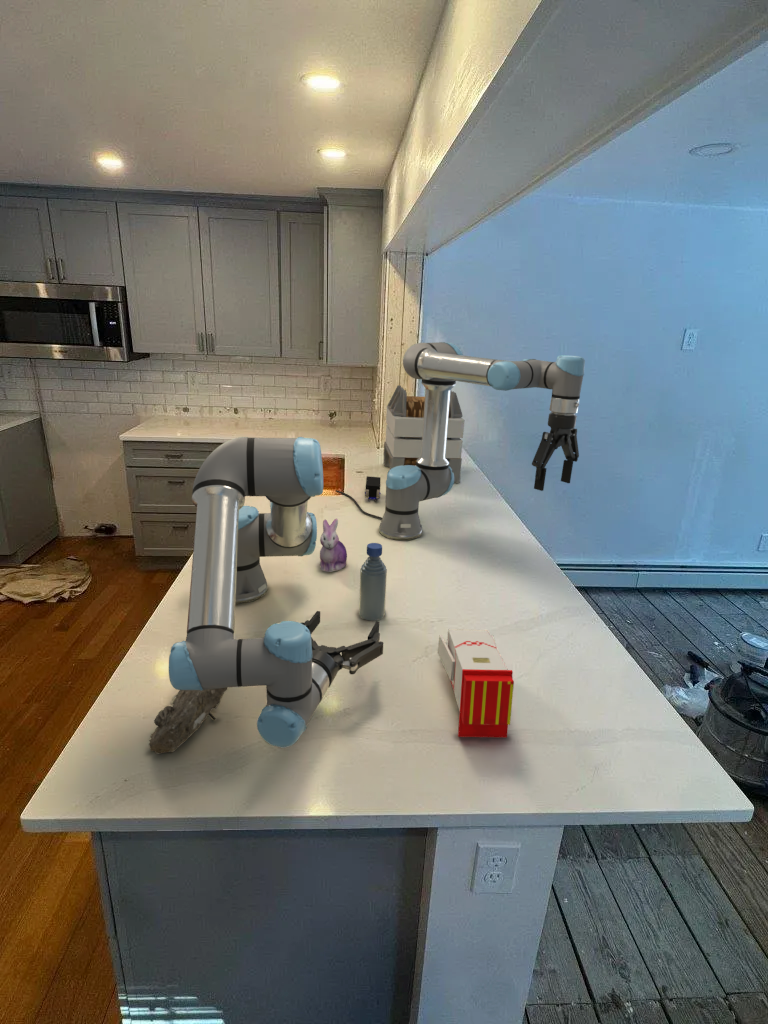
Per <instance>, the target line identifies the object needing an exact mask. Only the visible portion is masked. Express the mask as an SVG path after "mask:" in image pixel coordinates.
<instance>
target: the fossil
mask: <svg viewBox="0 0 768 1024" xmlns="http://www.w3.org/2000/svg"><path fill="white" fill-rule="evenodd" d="M227 690H228V688H217V689H206V690H178V691H177V694H176V695H175V698H174V699H173V701H172V705H166V706H164V708H163V709H161V710H159V712H158V713H157V715H156V716H155V718H154V720H153V724H154V725H155V726H157V727H156V728H155V729H154V731H153V732H152V733H150V736H149V737H150V739H149V740H148V741H149V743H148V747H149V750H150V751H151V752H155V754H164V753H169V752H171V753H174V752H175V751H177V749H178V748H179V747H180V746H181V745H182V744H183V743H185V742H186V741H187V740H188V739H189V738H190V737H191V736H192V735H193V734H194V733H195V732H196V731H198V730H199V729H200V727H201V726H202V723H203V722H204V721H206V720H207V718H208V717H210V719H212V721H216V720H217V718H216V717H215V715H213V714H212V713H211V712H212V710H214V709H216V708H217V707H218V705H219V704H220V702H221V700H222V698H223V696H224V694H225V693H226V692H227Z"/></svg>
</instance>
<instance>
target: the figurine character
mask: <svg viewBox="0 0 768 1024" xmlns="http://www.w3.org/2000/svg"><path fill="white" fill-rule="evenodd" d="M364 490H365V491H364V498H365V499H367V502H370V501H371V500H374V502H375V503H376V502H377V501H378V500H377V499H380V495H381V476H368V475H367V476H366V479H365V489H364Z"/></svg>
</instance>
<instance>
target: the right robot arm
mask: <svg viewBox="0 0 768 1024" xmlns="http://www.w3.org/2000/svg"><path fill="white" fill-rule="evenodd" d="M585 365H586V360H585V358H584V357H582V356H578V355H566V354H565V355H564V354H563V355H558V356H557V357H556V360H555V361H549V360H541V359H536V358H524V359H521V360H506V359H505V360H504V359H503V360H502V359H496V358H487V357H479V356H471V355H464V354H463V352H462V350H461V349H460V347H459V346H457V345H456V344H455V343H451V342H445V341H443V342H442V341H441V342H440V341H439V342H438V341H437V342H417V343H414V344H412V345H411V346H409V347H408V348H407V350H406V351H405V353H404V355H403V358H402V366H403V369H404V372H405V373H406V374H407V375H408V376H409V377H411V378H412V379H415V380H421V385H422V386H423V387H424V389H425V392H424V397H425V404H424V419H423V434H422V449H421V457H420V458H418V459H417V461H416V466H413V465H401V466H396V467H394V468H392V469H390V468H389V470H388V472H387V474H386V479H385V504H384V505H385V507H384V508H385V509H384V513H383V515H382V517H381V516H379V515H375V514H372V513H369V512H367V511H365V510H363V509H362V507H361V506H360V504H359V503H358V502H357V500H355V498H353V496H352V495H349V494H347V493H346V492H343V491H340V490H338V489H336V490H335V492H336V493H339V494H341V495H343V496H345V497H348V498H349V499H350V500H351V501H352V502H354V504H355V505H356V507H357V508H358V510H359V511H360V512H361V513H362V514H364V515H366V516H369V517H372V518H375V519H379V520H381V522H379V525H378V533H379V534H380V535H381V536H382V537H385V538H387V539H389V540H395V541H410V540H415V539H418V538H420V537H421V536H422V535H423V525H422V524H421V518H420V515H419V507H420V506H419V505H420V502H423V501H427V500H431V499H437V498H440V497H443V496H446V495H448V493H450V492H451V490H452V489H453V488H454V487H453V486H454V484H455V483H454V473H452V469H451V467H450V466H449V462H448V461H447V459H446V458H445V453H446V441H447V428H448V416H449V404H450V392H451V391H452V389H453V388H454V387H455V386H456V384H457V382H461V383H465V384H473V385H479V386H487V387H491V388H492V389H494V390H496V391H503V392H504V391H511V390H520V389H532V388H533V389H534V388H539V389H546V390H551V398H550V404H549V413H548V418H547V419H548V420H547V426H548V427H549V428H550V431H549V432H548V431H543V432H542V435H541V440H540V442H539V445H538V447H537V449H536V452H535V454H534V457H533V460H532V461H531V466H533V467H535V475H534V477H535V478H534V485H533V489H534V490H537V491H539V492H543V491H544V489H545V484H546V483H545V482H546V476H547V468H546V466H547V465H548V463H549V461H550V459H551V457H552V456H553V454H554V453H555V451H556V450H557V449H558V448H560V447H561V449H562V452H563V455H564V458H565V459H563V463H562V468H561V469H562V470H561V475H560V482H562V483H566V484H571V478H572V472H573V466H574V463H576V462H578V461H579V457H580V453H579V444H578V428H576V423H577V419H578V416H577V414H578V412H579V411H578V410H579V406H580V397H581V391H582V385H583V380H584V376H585Z"/></svg>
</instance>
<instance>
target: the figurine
mask: <svg viewBox="0 0 768 1024" xmlns="http://www.w3.org/2000/svg"><path fill="white" fill-rule="evenodd" d="M338 524H339V518H334V520H333V521H332V522H331V523H330V524H329V522H328V520H327V519H325V518H324V519H323V521H322V534H321V535H320V539H319V542H320V544H321V548H320V550H319V559H320V562H319V566H320V571H322V572H327V573H329V572H330V573H332V572H335V571H336V572H337V571H341V570H342V569H343V568H346V565H347V559H348V554H347V553H348V552H347V549H346V546H345V544H343V542H342V541H341V540H340V538H339V535H338V534H337V528H338Z"/></svg>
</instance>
